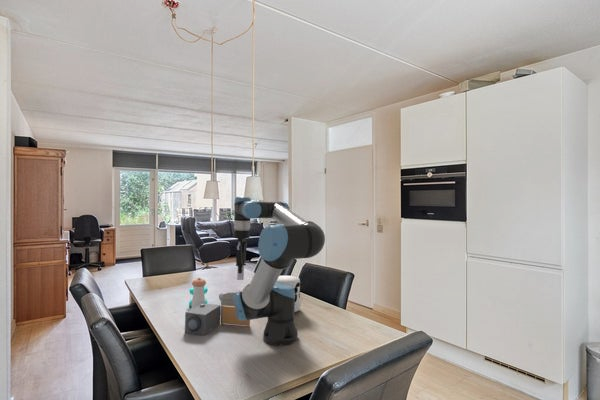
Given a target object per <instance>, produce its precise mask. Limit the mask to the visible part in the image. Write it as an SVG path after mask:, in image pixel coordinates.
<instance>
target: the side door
mask: <svg viewBox="0 0 600 400" xmlns="http://www.w3.org/2000/svg"><path fill="white" fill-rule="evenodd" d="M221 324H224V325H234V326H244V327H249V326H251V320H247V321H246V320H245V321H240V320H238V318H237V316H236V311H235V306H223V305H222V306H221V310H220V325H221Z"/></svg>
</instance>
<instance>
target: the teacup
mask: <svg viewBox="0 0 600 400" xmlns="http://www.w3.org/2000/svg"><path fill="white" fill-rule="evenodd" d="M235 293H236V292H225V293H220V294H218V298H219V300H220V305H221V306H222V305H223V306H235V304H234V296H235Z"/></svg>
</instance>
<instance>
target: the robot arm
mask: <svg viewBox="0 0 600 400" xmlns="http://www.w3.org/2000/svg"><path fill="white" fill-rule="evenodd" d="M233 213H234V220H233V222H232V224H233V229H234V230H233V238H234V239H237V241H236V244H235V247H234V248H235V266H236V267H237V269H236V271H237V273H236V274H237V276H236V280H237V281H244V280H245V277H244V276H245V266H246V265H247V264H246V258H247V257H246V255H247V248H248V247H247V246H248V243H247V239H250V237H251V231H250V229H251V220H255V219H273V220H274V221H276V222H277V223H276V224H270V225H267V226H265V227H264V228H263V229H262V231H261V232H260V235H259V238H258V245H257V247H258V248H257V249H258V254H259V257H260V258H261V260H260V262H259V264H258V266H257V268H256V271H255V272H254V275H253V277H252V279H251V281H250V283H248V284H246V285H245V287H243V289H242V291H240V290H239V291H236V292H234V293H235V296H234V304H235V311H236V316H237V318H238V320H240V321H245V320H246V321H247V320H250V321H251V320H258V319H263V318H267V321H266V324H265V327H264V331H263V335H262V338H263V339H262V340H263V341H264V342H265V343H266V344H270V345H274V346H289V345H292V344H294V343H296V342H297V341H298V339H299V336H298V335H299V334H298V329H297V324H296V323H295V313H294V308H295V290H294V288H293V287H291V286H289V285H285V284H277V283H276V281H277V279H278V277H279V276H281V274H282V272H283V270H285V269H288V268H289V267H290V266H291V265H292V263H293V261H294V260H299V259H309V258H310V259H311V258H313V257H315V256H317V255H318V254H320V252H321V251H322V250H323V248H324V246H325V243H326V236H325V232H324V230H323V229H322V228H321V226H320V225H318V224H316V222H313V221H310V220H305V219H304V218H303V217H301V216H300V215H298V214H296V213H295V212H293V211H292V210H290V206H289V204H288V202H283V201H254V200H253V201H252V198H251V197H250V196H236V197H235V199H234V212H233Z"/></svg>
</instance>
